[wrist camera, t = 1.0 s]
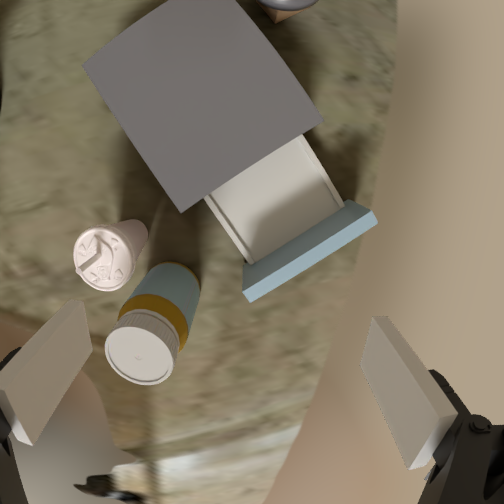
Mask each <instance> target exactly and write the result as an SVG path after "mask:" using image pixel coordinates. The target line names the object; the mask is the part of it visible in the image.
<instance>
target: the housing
mask: <svg viewBox="0 0 504 504" xmlns="http://www.w3.org/2000/svg"><path fill="white" fill-rule="evenodd" d="M82 67H83V68H84V70H85V72H86V73H87V75H88V76H89V78H90V79H91V81H92V82H93V84H94V86H95V87H96V89H97V90H98V92H99V93H100V95H101V96H102V98H103V100H104V101H105V103H106V104H107V106H108V107H109V109H110V110H111V112H112V113H113V115H114V116H115V118H116V119H117V121H118V122H119V124H120V125H121V127H122V128H123V130H124V131H125V133H126V134H127V136H128V137H129V139H130V140H131V142H132V143H133V145H134V146H135V148H136V149H137V151H138V152H139V154H140V155H141V157H142V158H143V160H144V161H145V162H146V164H147V165H148V167H149V168H150V170H151V171H152V173H153V174H154V176H155V177H156V178H157V180H158V181H159V183H160V184H161V186H162V187H163V189H164V190H165V191H166V193H167V194H168V196H169V197H170V199H171V200H172V201H173V203H174V204H175V206H176V207H177V209H178V210H179V211H180V213H182V212H184V211H185V210H187V209H188V208H189V207H191V206H192V205H194V204H195V203H197V202H198V201H199V200H201V199H202V198H204V197H205V196H207V195H208V194H210V193H211V192H213V191H214V190H215V189H217V188H218V187H220V186H221V185H223V184H224V183H226V182H227V181H229V180H230V179H232V178H233V177H235V176H236V175H238V174H239V173H241V172H242V171H244V170H246V169H247V168H249V167H250V166H252V165H253V164H255V163H256V162H258V161H259V160H261V159H263V158H264V157H266V156H267V155H269V154H270V153H272V152H274V151H275V150H277V149H278V148H280V147H282V146H283V145H285V144H287V143H288V142H290V141H291V140H293V139H295V138H296V137H298V136H300V135H301V134H303V133H305V132H306V131H308V130H310V129H311V128H313V127H315V126H316V125H318V124H320V123H321V122H323V121H324V119H323V118H322V116H321V114H320V113H319V111H318V110H317V108H316V107H315V105H314V104H313V102H312V101H311V99H310V98H309V96H308V95H307V93H306V92H305V90H304V89H303V87H302V86H301V85H300V83H299V82H298V80H297V79H296V77H295V76H294V75H293V73H292V72H291V70H290V69H289V68H288V66H287V65H286V63H285V62H284V61H283V59H282V58H281V57H280V55H279V54H278V53H277V51H276V50H275V49H274V47H273V46H272V45H271V43H270V42H269V41H268V40H267V38H266V37H265V36H264V34H263V33H262V32H261V31H260V29H259V28H258V27H257V26H256V24H255V23H254V22H253V21H252V20H251V18H250V17H249V16H248V15H247V13H246V12H245V11H244V10H243V9H242V8H241V6H240V5H239V4H238V3H237V2H236V1H235V0H168V1H167V2H165V3H163V4H162V5H160V6H159V7H157V8H156V9H154V10H153V11H151V12H150V13H148V14H147V15H145V16H144V17H142V18H141V19H139V20H138V21H137V22H135V23H134V24H132V25H131V26H130V27H128V28H127V29H125V30H124V31H123V32H121V33H120V34H119V35H118V36H116V37H115V38H114V39H112V40H111V41H110V42H109V43H107V44H106V45H105V46H104V47H102V48H101V49H100V50H99V51H98V52H96V53H95V54H94V55H93V56H92V57H90V58H89V59H88V60H87V61H86V62H85V63H84V64H82Z"/></svg>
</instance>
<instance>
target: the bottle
mask: <svg viewBox="0 0 504 504" xmlns="http://www.w3.org/2000/svg"><path fill="white" fill-rule="evenodd" d="M199 297H200V285H199V281H198V279H197V277H196V276H195V274H194V273H193V272H192V271H191V270H190V269H189V268H188V267H186V266H184V265H182V264H180V263H177V262H163V263H159V264H157V265H156V266H154V267H153V268H152V269H151V270H150V271H149V272H148V273H147V274H146V276H145V277H144V278H143V280H142V281H141V282H140V284H139V285H138V286H137V288H136V289H135V290H134V292H133V293H132V294H131V296H130V297H129V298H128V300H127V301H126V302H125V304H124V305H123V307H122V309H121V310H120V312H119V316H118V322H117V323H116V324H115V326H114V327H113V329H112V330H111V332H110V333H109V335H108V336H107V339H106V342H105V353H106V357H107V360H108V362H109V363H110V365H111V366H112V368H113V369H114V370H115V371H116V372H117V373H118V374H119V375H121V376H122V377H123V378H125V379H127V380H129V381H131V382H134V383H137V384H141V385H154V384H158V383H160V382H162V381H164V380H165V379H167V378H168V377H169V375H170V374H171V372H172V370H173V368H174V365H175V361H176V358H177V354H178V353H179V352H180V351H181V350H182V349H183V347H184V345H185V343H186V340H187V338H188V335H189V331H190V328H191V324H192V321H193V318H194V314H195V311H196V308H197V304H198V301H199Z"/></svg>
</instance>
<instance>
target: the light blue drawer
mask: <svg viewBox="0 0 504 504" xmlns="http://www.w3.org/2000/svg"><path fill="white" fill-rule="evenodd" d="M204 200H205V201H206V203H207V204H208V206H209V207H210V209H211V210H212V211H213V213H214V214H215V216H216V217H217V219H218V220H219V221H220V223H221V224H222V226H223V227H224V229H225V230H226V231H227V233H228V234H229V236H230V237H231V239H232V240H233V241H234V243H235V244H236V246H237V247H238V249H239V250H240V251H241V253H242V254H243V256H244V257H245V259H246V260H247V261H248V263H246V264H245V265H243V284H242V292H243V293H244V295H245V296H246V298H247V299H248V300H249V302H250V303H251V302H253V301H254V300H256V299H258V298H259V297H261V296H263V295H264V294H266V293H268V292H269V291H271V290H273V289H274V288H276V287H278V286H279V285H281V284H283V283H284V282H286V281H287V280H289V279H291V278H292V277H294V276H296V275H297V274H299V273H301V272H302V271H304V270H305V269H307V268H309V267H310V266H312V265H313V264H315V263H317V262H318V261H320V260H321V259H323V258H325V257H326V256H328V255H329V254H331V253H333V252H334V251H336V250H337V249H339V248H340V247H342V246H344V245H345V244H347V243H348V242H350V241H351V240H353V239H354V238H356V237H358V236H359V235H361V234H362V233H364V232H365V231H367V230H368V229H370V228H371V227H373V226H374V225H376V224H377V223H378V222H377V220H376V218H375V216H374V214H373V212H372V210H370V209H368V208H366V207H364V206H362V205H360V204H358V203H356V202H354V201H352V200H350V199H348V200H346V201H344V202H343V201H342V199H341V197H340V196H339V194H338V192H337V190H336V189H335V187H334V185H333V183H332V182H331V180H330V178H329V177H328V175H327V173H326V172H325V170H324V168H323V167H322V165H321V163H320V162H319V160H318V158H317V157H316V155H315V154H314V152H313V150H312V149H311V147H310V146H309V144H308V142H307V141H306V139H305V138H304V136H303V135H302V134H301V135H300V136H298V137H296V138H295V139H293V140H291V141H290V142H288V143H287V144H285V145H283V146H282V147H280V148H278V149H277V150H275V151H274V152H272V153H270V154H269V155H267V156H266V157H264V158H263V159H261V160H259V161H258V162H256V163H255V164H253V165H252V166H250V167H249V168H247V169H246V170H244V171H242V172H241V173H239V174H238V175H236V176H235V177H233V178H232V179H230V180H229V181H227V182H226V183H224V184H223V185H221V186H220V187H218V188H217V189H215V190H214V191H213V192H211V193H210V194H208V195H207V196H205V197H204Z"/></svg>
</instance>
